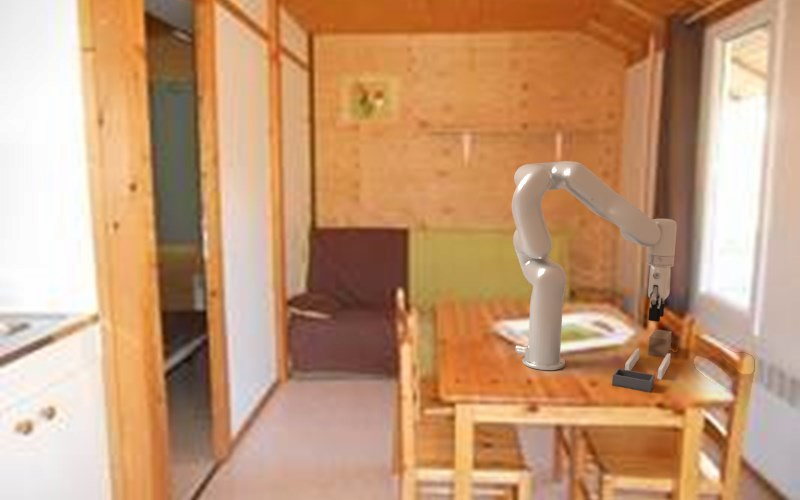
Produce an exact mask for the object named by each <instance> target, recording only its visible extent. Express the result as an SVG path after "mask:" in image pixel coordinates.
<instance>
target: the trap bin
mask: <svg viewBox="0 0 800 500" xmlns="http://www.w3.org/2000/svg"><path fill="white" fill-rule="evenodd" d="M655 376H656V375H655V374H652V373H646V372H639V371H635V370H631V371H630V370H625V368H616V370H615V371H614V373H613V374H612V379H611V381H612V382H611V385H612V386H616V387H619V388H624V389H630V390H635V391H640V392H641V391H642V392H647V393H651V391H652V390H653V388H654V386H655Z"/></svg>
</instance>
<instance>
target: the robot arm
mask: <svg viewBox="0 0 800 500" xmlns="http://www.w3.org/2000/svg"><path fill="white" fill-rule="evenodd" d="M513 179H514V181H513V182H514V184H515V187H516V188H515V189H514V193H513V195H512V200H511V213H512V218H513V222H514V226H515V228H516V229H515V231H514V233H513V237H512V244H513V247H514V251H515V254H516V257H517V259H518V263H519V266H520V269H521V272H522V274H523V276H524V278H525V280H526V281H527V283H528V284H530V285H531V286H532V291H531V295H530V301H529V321H528V322H529V323H528V324H529V326H528V345H526V346H523V345H518V344H516V345H515V349H514V350H515V352H516V354H519V355H523V356H522V363H523V364H524V366H527V367H529V368H531V369H534V370H535V369H536V370H540V371H556V370H560V369H562V368H564V367H565V366H566V360H565V359H564V358H562V357H561V346H562V342H561V341H562V327H563V307H564V297H565V291H566V289H567V274H566V273H565V271H564V268H563V267H562V266H561V265H560V264H559V263H558V262H555V261H554V260H552V259H551V257H550V254H551V252H552V249H553V240H552V236H551V233H550V231H549V229H548V225H547V223H546V222H547V221H546V219H545V215H544V211H543V207H542V206H543V205H542V204H543V198H544V196H545V195H546V194H547V192H548V191H554V190H555V191H556V190H566V191H567V192H568V193H569V194H570V195H572V196H573V197H574V198H576V199H577V200H578V202H580V203H582V205H584V206H585V207H586V208H587V209H589V210H590V211H591V212H592V213H593V214H595V215H596V216H598V217H600V218H602V219H603V220H606V221H608V222H609V223H611V224H613V225H615V226H617V227H618V228H620V229H619V231H620V235H621V236H622V238H623V239H624V240H626V241H627V242H630V243H632V244H635V245H638V246H641V247H643V248H647V257H646V265H647V266H650V268H649V278H648V290H647V291H648V292H647V295H648V296H647V297H648V298H649V299H650V301H649V307H648V318H647V319H648V321H649V322H650V321H651V322H657V323H659V322H660V321H661V318H662V317H664V312H665V300H666V299H667V298H668V297H669V295H670V292H671V291H670V290H671V273H672V272H671V271H672V270H671V268H672V267H674V266H675V255H676V254H675V253H676V241H677V229H678V223H677V221H675V220H673V219H671V218H655V219H652V218H651V217H649V216H648V215H647V214H646V213H645V212H643V211H642V210H641V209H640V208H639V207H637V206H636V205H634V204H633V203H632V202H630V201H629V200H627V199H626V198H625V197H624V196H622V195H621V194H620V193H618V192H616V191H615V190H614V189H613V188H612V187H610V186H609V185H608V184H607V183H605V182H604V181H603V180H602V179H601V178H600V177H598V176H597V175H596V174H595V173H594V172H593V171H591V170H590V168H588V167H587V166H585V165H584V164H582V163H580V162H578V161H571V160H562V161H552V162H537V163H536V162H535V163H527V164H526V163H525V164H522V165H521V166H519V167H518V168H517V170H516V171H515V173H514V177H513Z"/></svg>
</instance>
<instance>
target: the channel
mask: <svg viewBox="0 0 800 500" xmlns="http://www.w3.org/2000/svg"><path fill="white" fill-rule="evenodd" d="M671 356H672V355H671V353H669V352H668V353H667V355H666V356H665V358H664V357H663V360H662V361H661V364H660V365H659V367H658V369H657V378H656V379H657V380H661V381H662V379H663V377H664V375H665V373H666V372H667V369H668V368H669V366H670V364H671ZM639 359H640V348H639V347H638V348H637V347H636V348H635V350H634V351H633V352H632V354H631V355H630V356H629V358H628V359H627V361H626V362H625V363H624V370H630V371H632V369H633V368H634V366H635V365H636V364H637V362H638V361H639Z"/></svg>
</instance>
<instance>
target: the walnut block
mask: <svg viewBox="0 0 800 500" xmlns="http://www.w3.org/2000/svg"><path fill="white" fill-rule="evenodd" d="M672 333H673V331H669V330H663V329H654V330H653V332H652V333H651V335H650V336H649V338H648V339H649V341H648V350H647V351H648V352H647V355H648V356H653V357H659V358H663V359H664V358H665V356H666V355H667V353H669V351H670V350H671V346H672V345H671V343H672V335H673V334H672Z"/></svg>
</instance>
